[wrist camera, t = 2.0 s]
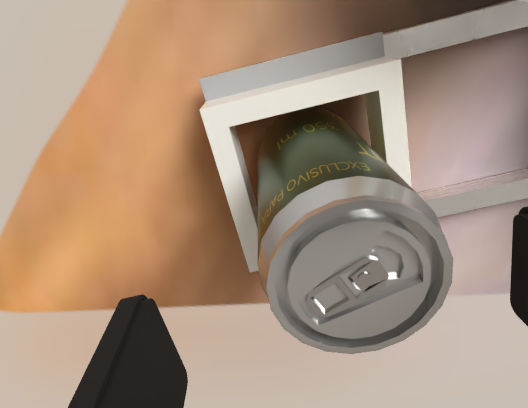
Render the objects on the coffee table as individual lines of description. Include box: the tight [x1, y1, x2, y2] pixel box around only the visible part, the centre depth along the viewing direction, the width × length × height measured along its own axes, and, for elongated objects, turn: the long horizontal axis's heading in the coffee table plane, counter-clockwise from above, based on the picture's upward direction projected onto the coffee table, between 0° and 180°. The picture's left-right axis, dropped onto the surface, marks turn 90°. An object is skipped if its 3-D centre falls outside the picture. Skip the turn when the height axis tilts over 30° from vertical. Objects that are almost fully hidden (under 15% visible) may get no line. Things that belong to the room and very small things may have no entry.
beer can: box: [258, 107, 453, 354], centre depth 15 cm, size 5×5×12 cm
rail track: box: [383, 0, 528, 217], centre depth 18 cm, size 18×11×4 cm, turn 104°
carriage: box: [199, 32, 412, 272], centre depth 18 cm, size 8×11×2 cm
